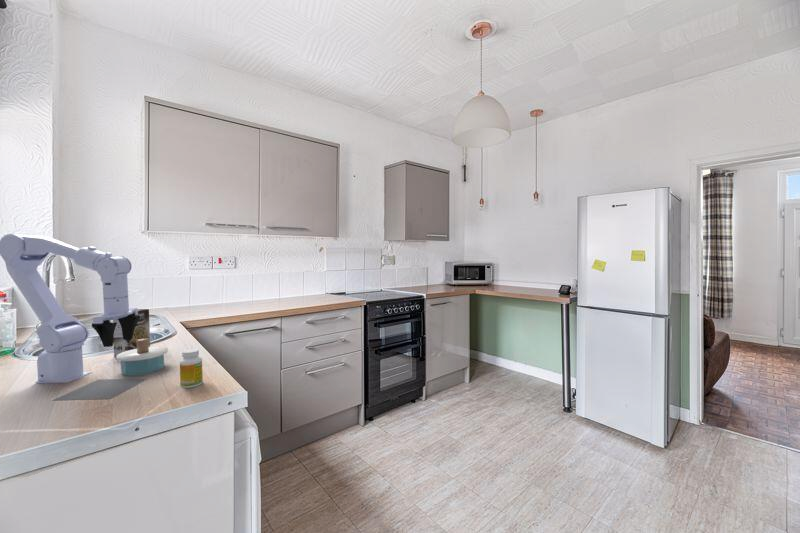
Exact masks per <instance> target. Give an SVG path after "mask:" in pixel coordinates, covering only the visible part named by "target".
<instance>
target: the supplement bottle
mask: <svg viewBox="0 0 800 533" xmlns="http://www.w3.org/2000/svg"><path fill="white" fill-rule="evenodd" d="M199 355H200V350H199V349H198V348H189V349H185V350H183V351H182V352H181V357H182V358H181V359H180V360H179V383H180V387H182V388H184V389H189V388H190V389H191V388H196V387H198V386H200V385H202V384H203V379H204V378H203V376H204V375H203V358H202V357H201V356H199Z"/></svg>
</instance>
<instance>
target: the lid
mask: <svg viewBox="0 0 800 533" xmlns="http://www.w3.org/2000/svg"><path fill="white" fill-rule="evenodd" d="M168 352H169V348H168V347H166V346H150V347H149V340H148V339H147V338H145V339H138V340H137V349H133V350H129V351H125V352H122V353H120V354H118V355H117V356H116V357H115V358H116V360H117V361H119V362H121V361H138V360H145V359H151V358H155V357H158V356H161V355H164V356H165V355H166V354H167V353H168Z"/></svg>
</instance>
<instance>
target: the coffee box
mask: <svg viewBox="0 0 800 533" xmlns="http://www.w3.org/2000/svg"><path fill="white" fill-rule="evenodd" d="M136 315H140V319H139V321H138V322H137V324H136V327H135V330H134V334H133V338H132V339H131V340H124V339H123V335H122V328H121V325H120V323H119V321H118V319H114V320H112V323H117V325H116V327H115V331H114V342H113V358H117V357H116V356H117V355H118V354H120V353H122V352H125V351H129V350H133V349H137V340H138V339H145V338H147V339H148V340H149V347H151V333H150V332H151V331H150V330H151V328H150V327H151V326H150V325H151V324H150V309H149V308H138V314H136ZM117 317H118V316H117Z"/></svg>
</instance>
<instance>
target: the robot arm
mask: <svg viewBox="0 0 800 533" xmlns="http://www.w3.org/2000/svg"><path fill="white" fill-rule="evenodd" d="M50 254H53V255H57V256H61V257H65V258H67V259H71V260H73V261H74V263H75V265H76V266H79V267H83V268H85V269H89V270H91V271H95V272H96V273H97V274H98V275H99V276H100V281H101V283H102V295H103V296H102V297H103V298H102V300H103V313H101V314H98V315H96V316H92V323H91V327H92V329H94V330H95V331H96V334H98V336H99V338H100V340H101V343H102V346H103V347H104V348H110V347H111V348H112V347H114V343H113V342H114V331H115V327H116V325H117V323H113V322H111V321H113V320H114V319H118V321H119V323H120V325H121V328H122V335H123V339H124V340H131V339H132V338H133V334H134V330H135V327H136V324H137V322H138V321H139V319H140V315H136V314H138V309H139V308H137V307H132V308H130V303H129V285H128V274H129V273H130V272H131V270H132V265H133V264H132V262H131V260H130V259H129V258H127V257H125V256H124V255H117V256H114V255H113V254H112V253H111V252H103V251H100V250H97V247H96V246H88V247H87V246H84V247H81V248H79V247H77V246H73V245H71V244H68V243H65V242H63V241H60V240H58V239H54V238H53V237H50V236H46V235H43V234H41V235H34V234H33V235H31V234H30V235H29V234H15V233H8V234H5V235H3V236H2V237H1V238H0V256H1V258H2V259H3V261H4V263H5V268H6V271H7V273H8V275H9V276H10V278H11V279H12V281H13V282H14V283H15V286H17V289H18V290H19V291H20V293H21V294H22V296H23V297H24V299H25V300H26V301H27V303H28V305H29V306H30V308H31V310H32V311H33V312H34V314H35V315H36V317H37V318H38V320H39V321H40V322H41V324H40V325H39V327H38V328H37V329H36V331H35V333H36V334H37V336H38V340H39V345H40V346H41V348H42V349H43V351H42V352H40V354H39V355H38V357H37V361H36V364H37V365H36V366H37V367H36V368H37V380H36V381H34V382H35V384H42V383H43V384H45V383H46V384H48V383H49V384H50V383H52V384H53V383H70V382H73V381H75V380H77V379H80V378H82V377H85V376H87V375H90V374H92V371H84V362H83V361H84V358H83V346H85V342H86V341H87V339H88V338H89V333H90V332H89V330H88V327H87V326H86V325H85V324H83V323H81V322H80V321H79V319H78V318H76V317H75V316H72V315H70V314H66V312H65V311H64V309H63V308H62V306H61V304H60V302H58V300H57V298H56V297H55V295H54V293H52V291H51V289H50V288H49V286H48V285H47V283H46V281H45V280H44V278H43V277H42V276H41V274H40V273H39V271H38V268H39V266H41V265H42V264H43V262H44V261H45V260H46V259H47V258H48V256H49V255H50ZM117 316H118V317H117Z"/></svg>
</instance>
